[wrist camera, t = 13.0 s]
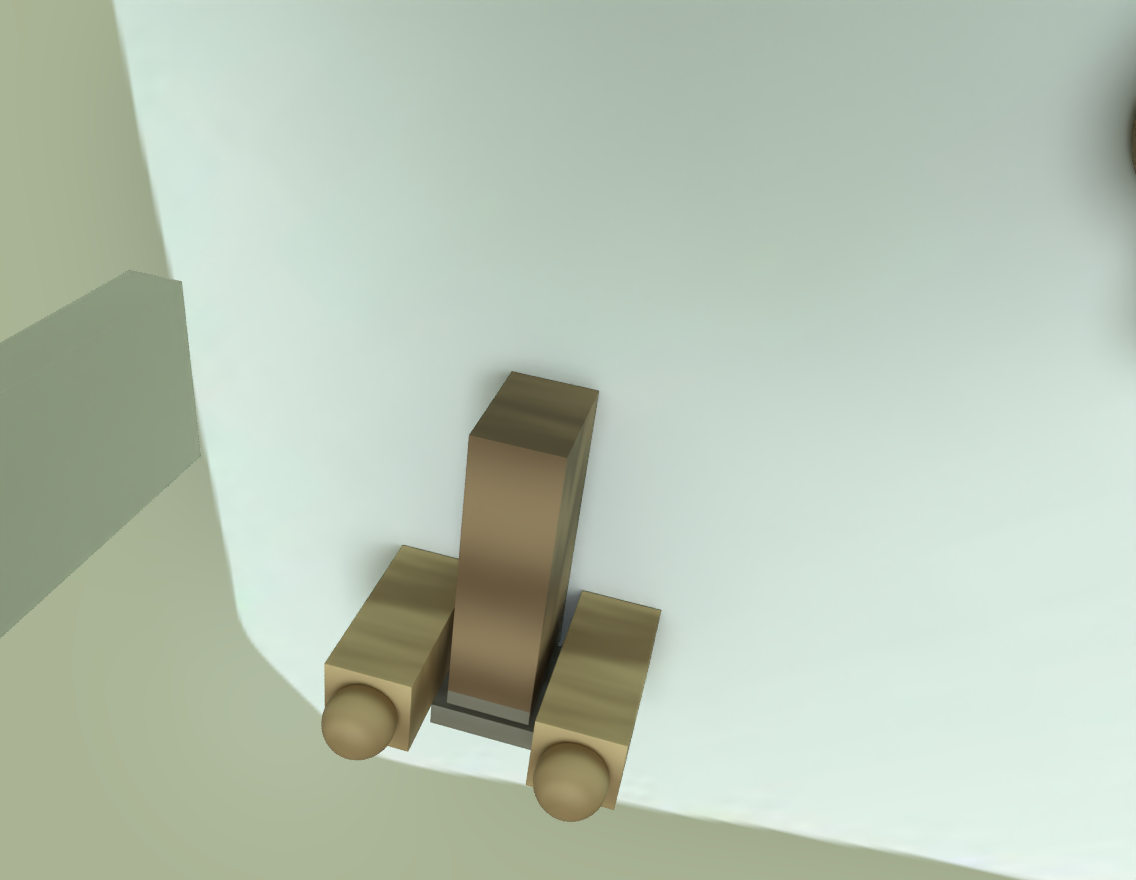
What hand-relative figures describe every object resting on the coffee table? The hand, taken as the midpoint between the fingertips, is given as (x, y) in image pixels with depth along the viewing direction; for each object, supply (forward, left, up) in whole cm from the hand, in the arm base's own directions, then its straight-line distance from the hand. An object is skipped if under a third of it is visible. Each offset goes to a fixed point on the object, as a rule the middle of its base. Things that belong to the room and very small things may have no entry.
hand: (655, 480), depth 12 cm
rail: (+20, -7, -27) cm, 35 cm away
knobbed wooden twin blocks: (+27, -7, -27) cm, 39 cm away
